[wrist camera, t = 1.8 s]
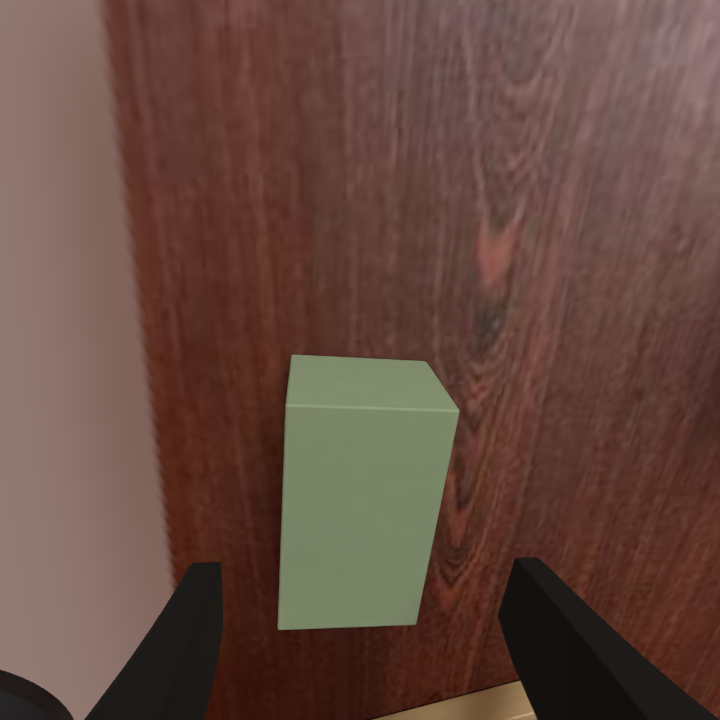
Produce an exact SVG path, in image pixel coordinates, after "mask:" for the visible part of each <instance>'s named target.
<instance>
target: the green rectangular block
mask: <svg viewBox="0 0 720 720" xmlns="http://www.w3.org/2000/svg"><path fill="white" fill-rule="evenodd" d="M458 417H459V409H458V408H457V406H456V405H455V403H454V402H453V400H452V399H451V397H450V396H449V395H448V393H447V392H446V390H445V389H444V387H443V386H442V384H441V383H440V381H439V380H438V378H437V377H436V375H435V374H434V372H433V371H432V370H431V368H430V367H429V365H428V364H427V362H426V361H410V360H390V359H370V358H349V357H329V356H309V355H292V356H291V362H290V370H289V379H288V388H287V397H286V405H285V432H284V461H283V489H282V517H281V546H280V574H279V603H278V630H294V629H319V628H345V627H371V626H396V625H415V624H416V622H417V617H418V612H419V607H420V602H421V597H422V592H423V587H424V583H425V578H426V573H427V568H428V563H429V558H430V553H431V548H432V543H433V539H434V534H435V529H436V524H437V519H438V514H439V509H440V504H441V500H442V495H443V490H444V485H445V480H446V475H447V470H448V465H449V460H450V456H451V451H452V446H453V441H454V436H455V431H456V426H457V421H458Z"/></svg>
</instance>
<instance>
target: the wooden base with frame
mask: <svg viewBox="0 0 720 720" xmlns="http://www.w3.org/2000/svg"><path fill="white" fill-rule="evenodd" d="M372 720H537V718H536V716H535V713H534V711H533V709H532V706H531V704H530V702H529V700H528V697H527V695H526V693H525V690H524V688H523V686H522V683H521V681H516V682H512V683H508V684H505V685H501V686H497V687H493V688H489V689H486V690H482V691H478V692H474V693H471V694H467V695H463V696H459V697H455V698H452V699H448V700H444V701H440V702H437V703H433V704H429V705H425V706H421V707H418V708H414V709H410V710H406V711H402V712H399V713H395V714H391V715H387V716H384V717H380V718H376V719H372Z"/></svg>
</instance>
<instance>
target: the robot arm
mask: <svg viewBox="0 0 720 720" xmlns="http://www.w3.org/2000/svg"><path fill="white" fill-rule="evenodd" d="M498 617H499V621H500V624H501V627H502V631H503V634H504V637H505V641H506V644H507V647H508V650H509V653H510V656H511V659H512V662H513V664H514V667H515V669H516V671H517V674H518V676H519V679H520V681H521V683H522V686H523V688H524V690H525V693H526V695H527V697H528V700H529V702H530V704H531V706H532V709H533V711H534V713H535V716H536V718H537V720H719V719H718V718H717V717H715V716H714V715H713V714H711V713H710V712H709V711H708V710H706V709H705V708H704V707H703V706H701V705H700V704H699V703H697V702H696V701H695V700H694V699H693V698H691V697H690V696H689V695H688V694H687V693H685V692H684V691H683V690H682V689H680V688H679V687H678V686H677V685H676V684H675V683H673V682H672V681H671V680H670V679H669V678H668V677H666V676H665V675H664V674H663V673H662V672H661V671H659V670H658V669H657V668H656V667H655V666H654V665H653V664H651V663H650V662H649V661H648V660H647V659H646V658H644V657H643V656H642V655H641V654H640V653H639V652H638V651H637V650H636V649H634V648H633V647H632V646H631V645H630V644H629V643H628V642H627V641H626V640H624V639H623V638H622V637H621V636H620V635H619V634H618V633H617V632H616V631H615V630H614V629H613V628H612V627H610V626H609V625H608V624H607V623H606V622H605V621H604V620H603V619H602V618H601V617H600V616H599V615H598V614H597V613H596V612H595V611H593V610H592V609H591V608H590V607H589V606H588V605H587V604H586V603H585V602H584V601H583V600H582V599H581V598H580V597H579V596H578V595H577V594H576V593H575V592H574V591H573V590H572V589H571V588H570V587H568V586H567V585H566V584H565V583H564V582H563V581H562V580H561V579H560V578H559V577H558V576H557V575H556V574H555V573H554V572H553V571H552V570H551V569H550V568H549V567H548V566H547V565H545V564H544V563H543V562H542V561H541V560H540V559H539V558H515V561H514V564H513V567H512V570H511V574H510V577H509V580H508V584H507V587H506V590H505V593H504V597H503V600H502V603H501V607H500V610H499V613H498ZM222 629H223V603H222V572H221V562H211V563H193V564H192V565H190V566H189V567H188V569H187V571H186V573H185V574H184V576H183V578H182V580H181V581H180V583H179V585H178V586H177V588H176V590H175V591H174V593H173V595H172V596H171V598H170V600H169V601H168V603H167V604H166V606H165V608H164V609H163V611H162V612H161V614H160V615H159V617H158V618H157V620H156V622H155V623H154V625H153V626H152V628H151V629H150V630H149V632H148V633H147V635H146V636H145V638H144V639H143V640H142V642H141V643H140V645H139V646H138V648H137V649H136V651H135V652H134V654H133V655H132V657H131V658H130V659H129V661H128V662H127V664H126V665H125V666H124V668H123V669H122V671H121V672H120V673H119V674H118V676H117V677H116V679H115V680H114V681H113V682H112V684H111V685H110V686H109V688H108V689H107V690H106V692H105V693H104V695H103V696H102V697H101V698H100V700H99V701H98V702H97V704H96V705H95V706H94V708H93V709H92V710H91V712H90V713H89V714H88V716H87V717H86V718H85V720H204V717H205V713H206V709H207V705H208V701H209V697H210V694H211V690H212V686H213V682H214V678H215V672H216V666H217V660H218V654H219V648H220V642H221V635H222Z"/></svg>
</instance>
